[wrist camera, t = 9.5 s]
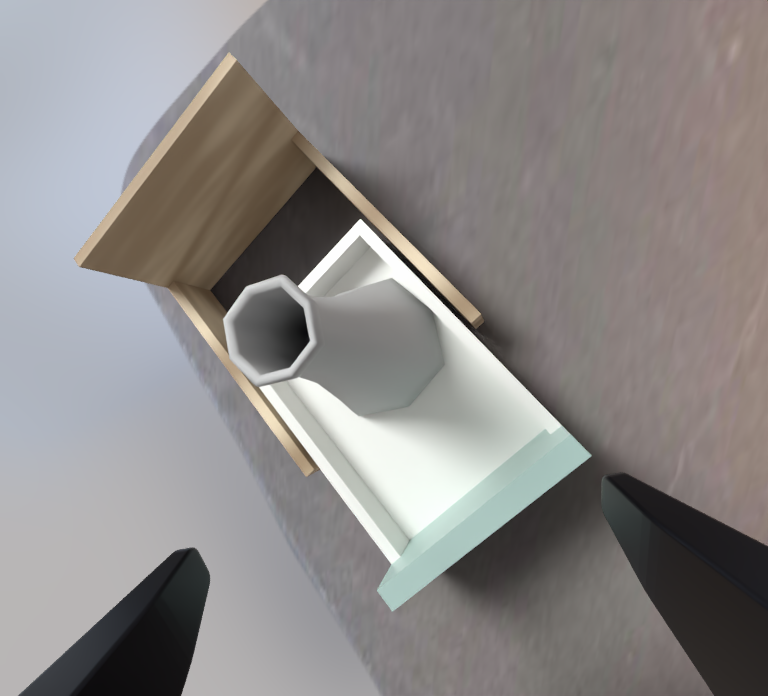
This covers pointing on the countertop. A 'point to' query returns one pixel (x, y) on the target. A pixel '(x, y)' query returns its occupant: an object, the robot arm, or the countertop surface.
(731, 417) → the countertop surface
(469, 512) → the tray
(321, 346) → the flask
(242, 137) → the dock
